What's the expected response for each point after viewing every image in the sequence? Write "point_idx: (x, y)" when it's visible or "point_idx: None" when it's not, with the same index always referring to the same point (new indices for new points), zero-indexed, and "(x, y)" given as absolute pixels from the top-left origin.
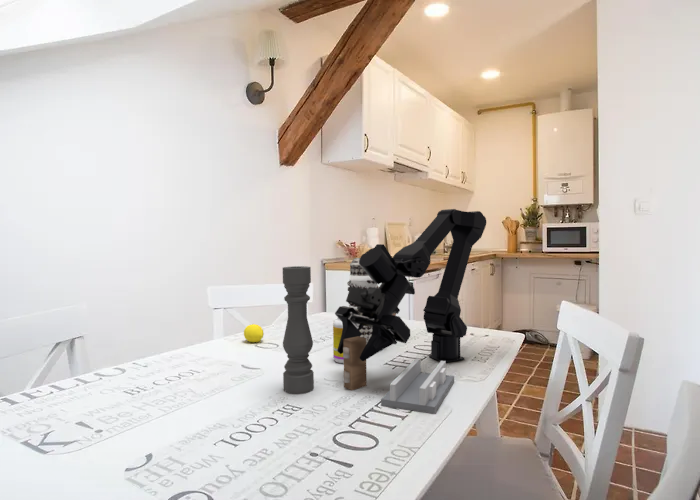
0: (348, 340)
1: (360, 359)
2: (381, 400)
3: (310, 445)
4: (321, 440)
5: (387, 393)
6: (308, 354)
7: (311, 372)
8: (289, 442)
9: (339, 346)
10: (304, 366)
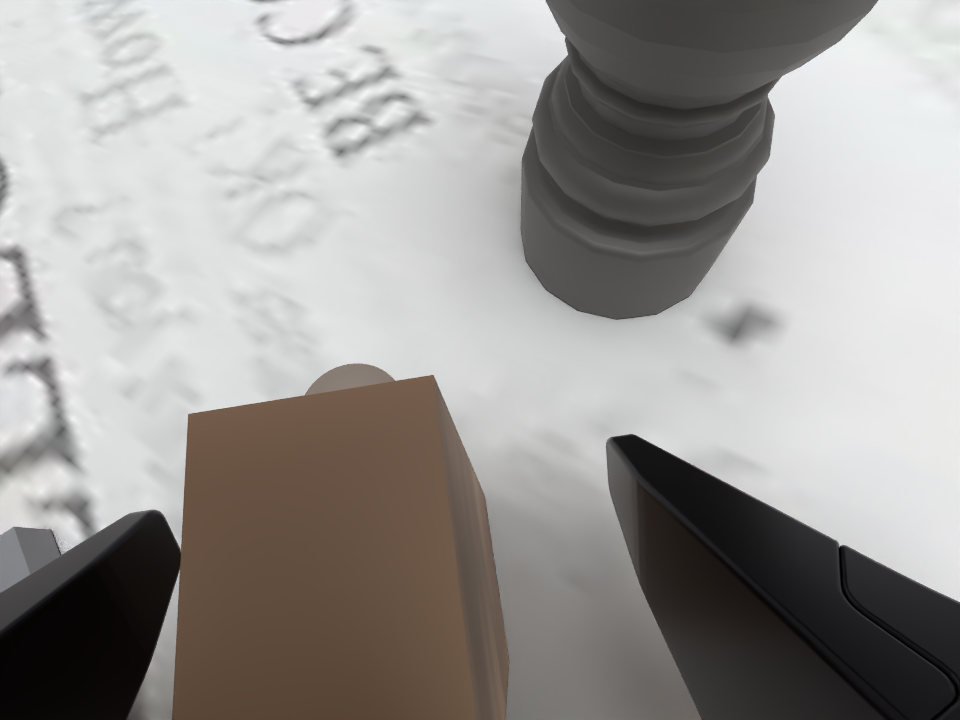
0: (279, 405)
1: (161, 523)
2: (17, 528)
3: (17, 75)
4: (13, 114)
5: None
6: (636, 104)
7: (573, 225)
8: (92, 30)
9: (649, 459)
10: (550, 118)
